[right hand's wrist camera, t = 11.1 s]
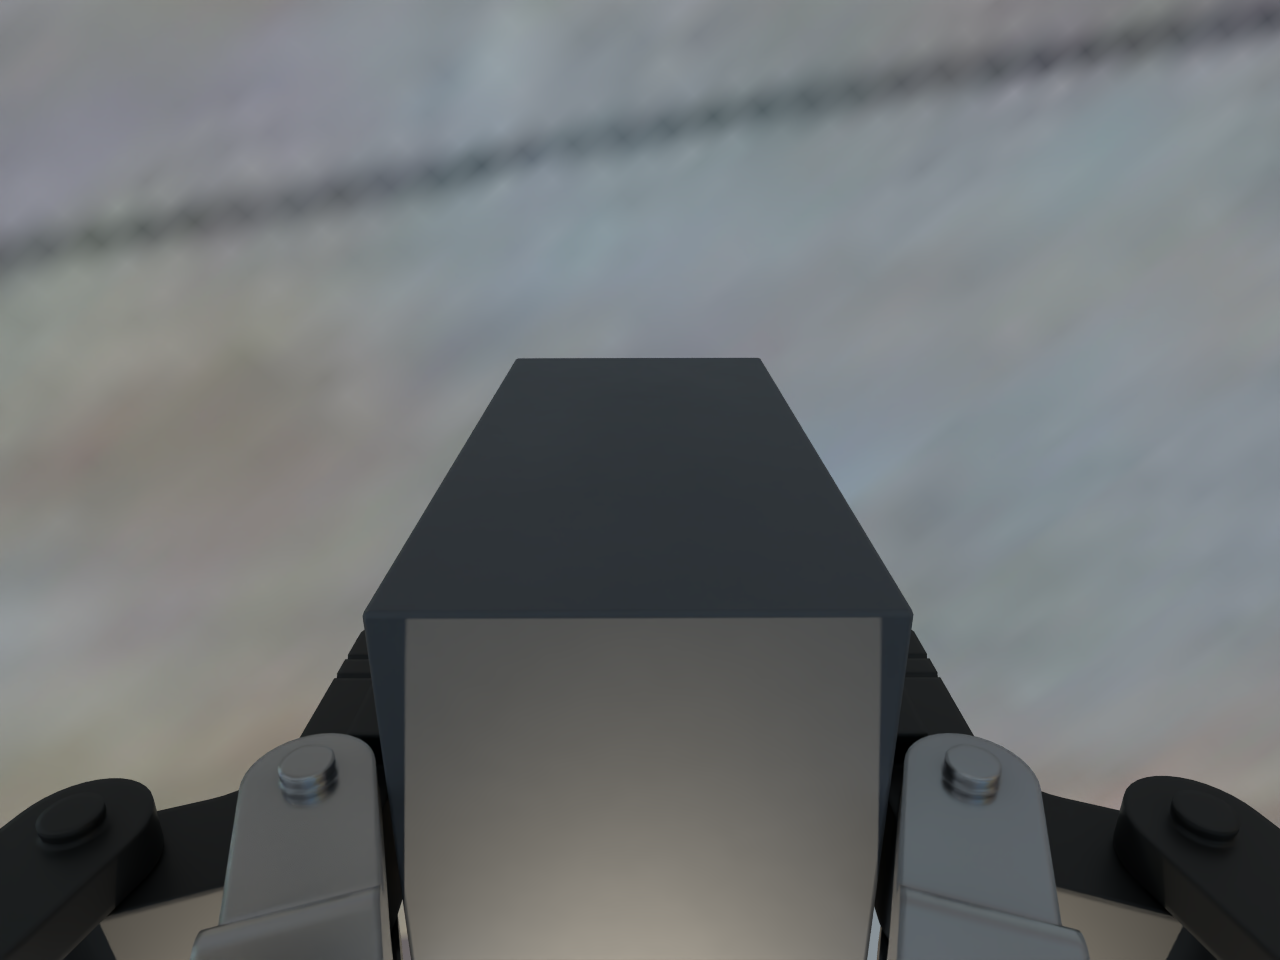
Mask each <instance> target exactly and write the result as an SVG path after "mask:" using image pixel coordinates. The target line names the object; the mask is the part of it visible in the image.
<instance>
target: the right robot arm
mask: <svg viewBox="0 0 1280 960" xmlns="http://www.w3.org/2000/svg"><path fill="white" fill-rule="evenodd" d="M402 899H403V898H402V891H401V884H400V877H399V870H398V863H397V856H396V848H395V841H394V834H393V827H392V820H391V813H390V806H389V799H388V792H387V785H386V778H385V771H384V764H383V756H382V749H381V742H380V735H379V728H378V721H377V714H376V707H375V700H374V693H373V686H372V679H371V672H370V665H369V657H368V650H367V643H366V636H365V630H364V631H362V632H361V633H360V635H359V637H358V639H357V640H356V642H355V644H354V645H353V647H352V649H351V651H350V652H349V654H348V659H345V661H344V663H343V664H342V666H341V668H340V669H339V671H338V673H337V678H334V680H333V681H332V683H331V685H330V687H329V688H328V690H327V692H326V693H325V695H324V697H323V699H322V700H321V702H320V704H319V705H318V707H317V709H316V711H315V712H314V714H313V716H312V718H311V719H310V721H309V723H308V724H307V726H306V728H305V730H304V731H303V733H302V735H301V736H300V738H298V739H295V740H292V741H289V742H287V743H285V744H282V745H280V746H278V747H276V748H275V749H273V750H271V751H269V752H268V753H266V754H265V755H264V756H262V757H261V758H260V759H259V760H257V761H256V762H255V763H254V764H253V765H252V766H251V767H250V769H249V770H248V771H247V772H246V774H245V776H244V777H243V779H242V781H241V784H240V788H239V790H238V791H235V792H233V793H230V794H227V795H224V796H221V797H217V798H213V799H209V800H205V801H200V802H196V803H192V804H187V805H183V806H178V807H174V808H169V809H165V810H160V811H157V810H156V806H155V803H154V799H153V796H152V794H151V791H150V790H149V789H148V788H147V787H146V786H144V785H143V784H141V783H139V782H136V781H133V780H129V779H122V778H109V779H100V780H94V781H89V782H84V783H81V784H78V785H74V786H71V787H69V788H66V789H63V790H61V791H58V792H56V793H54V794H52V795H50V796H48V797H46V798H44V799H42V800H40V801H38V802H37V803H35V804H33V805H32V806H30V807H29V808H27V809H26V810H24V811H23V812H22V813H20V814H19V815H18V816H16V817H15V818H14V819H12V820H11V821H10V822H8V823H7V824H6V825H4V826H3V827H2V828H1V829H0V960H403V953H402V942H401V935H400V928H399V921H398V911H399V908H400V905H401V902H402ZM874 907H875V910H876V913H877V916H878V920H879V923H880V925H881V927H880V935H879V941H878V952H877V960H1280V829H1279V828H1278V827H1277V826H1276V825H1274V824H1273V823H1272V822H1270V821H1269V820H1268V819H1266V818H1265V817H1264V816H1262V815H1261V814H1260V813H1259V812H1257V811H1256V810H1254V809H1253V808H1252V807H1250V806H1249V805H1247V804H1246V803H1244V802H1243V801H1241V800H1239V799H1237V798H1236V797H1234V796H1232V795H1230V794H1228V793H1226V792H1224V791H1222V790H1220V789H1217V788H1215V787H1212V786H1209V785H1207V784H1204V783H1201V782H1197V781H1194V780H1190V779H1185V778H1180V777H1172V776H1152V777H1146V778H1143V779H1139V780H1137V781H1135V782H1134V783H1132V784H1131V785H1130V786H1129V787H1128V788H1127V789H1126V791H1125V794H1124V797H1123V801H1122V804H1121V808H1120V811H1119V810H1115V809H1111V808H1106V807H1102V806H1097V805H1093V804H1088V803H1084V802H1079V801H1075V800H1070V799H1066V798H1062V797H1058V796H1054V795H1051V794H1047V793H1045V792H1042V791H1041V788H1040V785H1039V781H1038V779H1037V778H1036V776H1035V774H1034V773H1033V771H1032V770H1031V769H1030V767H1029V766H1028V765H1027V764H1026V763H1025V762H1024V761H1022V760H1021V759H1020V758H1019V757H1018V756H1016V755H1015V754H1013V753H1012V752H1010V751H1009V750H1007V749H1005V748H1004V747H1002V746H1000V745H997V744H995V743H993V742H991V741H988V740H985V739H982V738H979V737H975V736H974V735H973V734H972V732H971V730H970V728H969V727H968V725H967V723H966V721H965V720H964V718H963V716H962V714H961V713H960V711H959V709H958V707H957V706H956V704H955V702H954V700H953V699H952V697H951V695H950V693H949V692H948V690H947V688H946V686H945V685H944V683H943V681H942V680H941V678H940V677H938V675H937V671H936V669H935V667H934V666H933V664H932V662H931V660H930V659H929V658H927V653H926V652H925V650H924V648H923V646H922V645H921V643H920V641H919V639H918V638H917V636H916V634H915V633H914V631H912V630H911V635H910V643H909V650H908V658H907V665H906V673H905V680H904V688H903V695H902V702H901V710H900V717H899V725H898V732H897V740H896V747H895V755H894V762H893V769H892V777H891V784H890V792H889V799H888V807H887V814H886V822H885V829H884V837H883V844H882V851H881V859H880V866H879V874H878V881H877V889H876V896H875V904H874Z"/></svg>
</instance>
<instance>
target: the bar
mask: <svg viewBox="0 0 1280 960" xmlns="http://www.w3.org/2000/svg"><path fill="white" fill-rule="evenodd" d="M912 621H913V612H912V610H911V608H910V606H909V605H908V603H907V601H906V600H905V598H904V596H903V595H902V593H901V591H900V590H899V588H898V586H897V585H896V583H895V581H894V580H893V578H892V576H891V575H890V573H889V571H888V570H887V568H886V566H885V565H884V563H883V562H882V560H881V558H880V557H879V555H878V553H877V552H876V550H875V548H874V547H873V545H872V543H871V542H870V540H869V538H868V537H867V535H866V533H865V532H864V530H863V528H862V527H861V525H860V523H859V522H858V520H857V518H856V517H855V515H854V513H853V512H852V510H851V508H850V507H849V505H848V504H847V502H846V500H845V499H844V497H843V495H842V494H841V492H840V490H839V489H838V487H837V485H836V484H835V482H834V480H833V479H832V477H831V475H830V474H829V472H828V470H827V469H826V467H825V465H824V464H823V462H822V460H821V459H820V457H819V455H818V454H817V452H816V450H815V449H814V447H813V445H812V444H811V442H810V441H809V439H808V437H807V436H806V434H805V432H804V431H803V429H802V427H801V426H800V424H799V422H798V421H797V419H796V417H795V416H794V414H793V412H792V411H791V409H790V407H789V406H788V404H787V402H786V401H785V399H784V397H783V396H782V394H781V392H780V391H779V389H778V387H777V386H776V384H775V382H774V381H773V379H772V378H771V376H770V374H769V373H768V371H767V369H766V368H765V366H764V364H763V363H762V361H761V359H759V358H532V359H516V361H515V362H514V364H513V366H512V367H511V369H510V371H509V372H508V374H507V376H506V377H505V379H504V380H503V382H502V384H501V385H500V387H499V389H498V390H497V392H496V394H495V395H494V397H493V399H492V400H491V402H490V404H489V405H488V407H487V409H486V410H485V412H484V414H483V415H482V417H481V419H480V420H479V422H478V424H477V425H476V427H475V429H474V430H473V432H472V434H471V435H470V437H469V439H468V440H467V442H466V444H465V445H464V447H463V448H462V450H461V452H460V453H459V455H458V457H457V458H456V460H455V462H454V463H453V465H452V467H451V468H450V470H449V472H448V473H447V475H446V477H445V478H444V480H443V482H442V483H441V485H440V487H439V488H438V490H437V492H436V493H435V495H434V497H433V498H432V500H431V502H430V503H429V505H428V507H427V508H426V510H425V512H424V513H423V515H422V516H421V518H420V520H419V521H418V523H417V525H416V526H415V528H414V530H413V531H412V533H411V535H410V536H409V538H408V540H407V541H406V543H405V545H404V546H403V548H402V550H401V551H400V553H399V555H398V556H397V558H396V560H395V561H394V563H393V565H392V566H391V568H390V570H389V571H388V573H387V575H386V576H385V578H384V580H383V581H382V583H381V584H380V586H379V588H378V589H377V591H376V593H375V594H374V596H373V598H372V599H371V601H370V603H369V604H368V606H367V608H366V609H365V611H364V614H363V622H364V629H365V636H366V643H367V650H368V657H369V665H370V672H371V679H372V686H373V693H374V700H375V707H376V714H377V721H378V728H379V735H380V742H381V749H382V756H383V764H384V771H385V778H386V785H387V792H388V799H389V806H390V813H391V820H392V827H393V834H394V841H395V848H396V856H397V863H398V870H399V877H400V884H401V891H402V898H403V905H404V912H405V919H406V926H407V933H408V940H409V947H410V955H411V960H867V956H868V948H869V941H870V933H871V926H872V918H873V911H874V904H875V896H876V889H877V881H878V874H879V866H880V859H881V851H882V844H883V837H884V829H885V822H886V814H887V807H888V799H889V792H890V784H891V777H892V769H893V762H894V755H895V747H896V740H897V732H898V725H899V717H900V710H901V702H902V695H903V688H904V680H905V673H906V665H907V658H908V650H909V643H910V635H911V628H912Z"/></svg>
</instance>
